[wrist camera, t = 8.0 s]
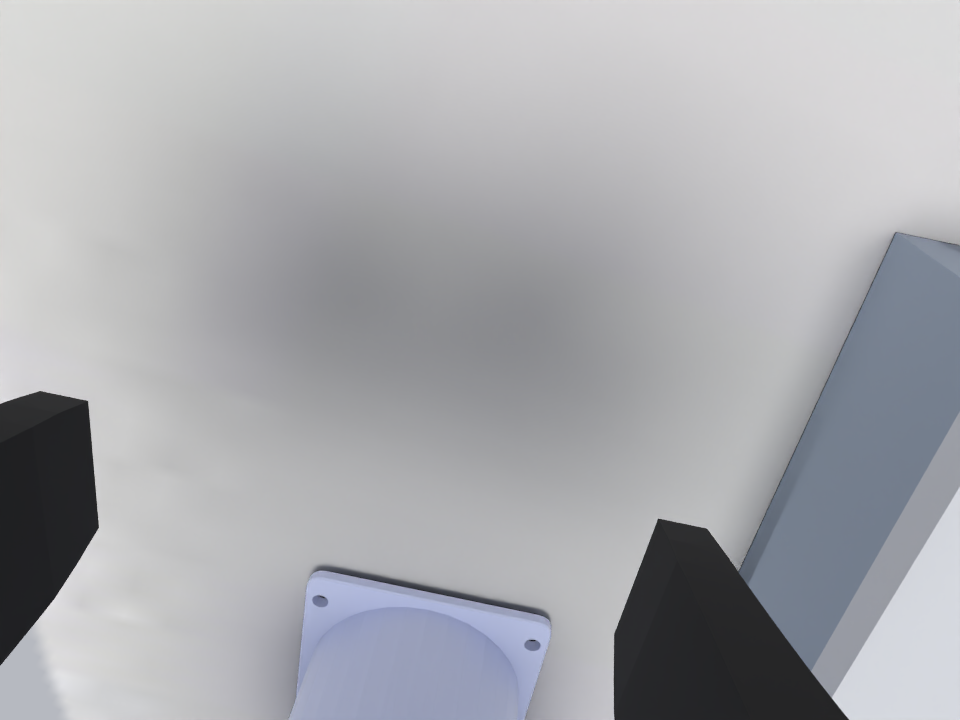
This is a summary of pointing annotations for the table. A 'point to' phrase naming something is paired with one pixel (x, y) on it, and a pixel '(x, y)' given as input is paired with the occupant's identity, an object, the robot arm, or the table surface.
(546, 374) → the table surface
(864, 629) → the coin box
